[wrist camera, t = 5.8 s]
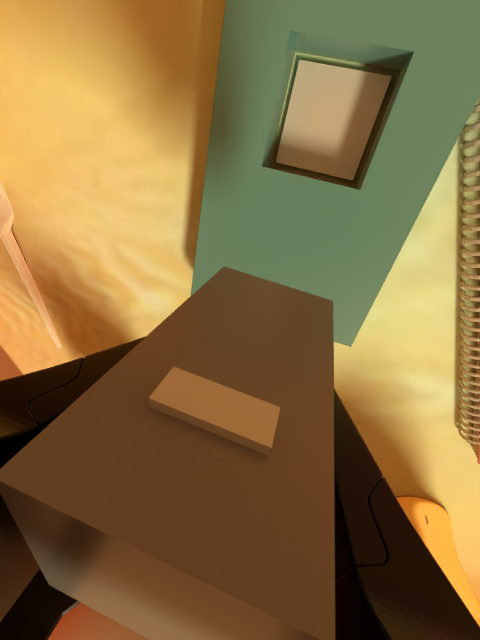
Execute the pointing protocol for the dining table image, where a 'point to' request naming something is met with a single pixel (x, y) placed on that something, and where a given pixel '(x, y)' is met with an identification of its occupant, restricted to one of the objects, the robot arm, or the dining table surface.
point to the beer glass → (441, 545)
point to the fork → (21, 261)
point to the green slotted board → (331, 140)
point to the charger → (197, 474)
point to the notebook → (479, 397)
